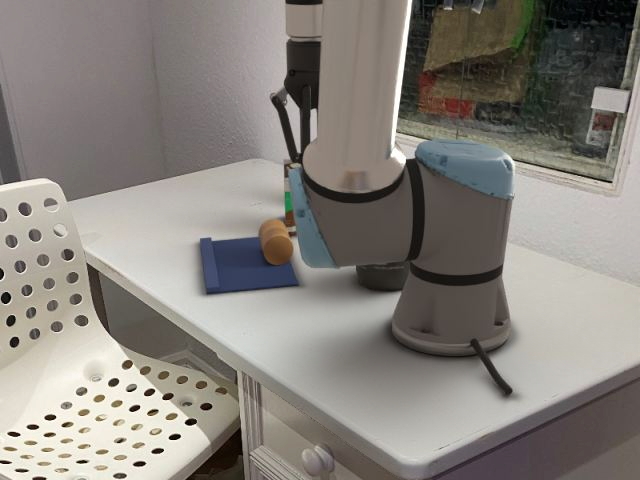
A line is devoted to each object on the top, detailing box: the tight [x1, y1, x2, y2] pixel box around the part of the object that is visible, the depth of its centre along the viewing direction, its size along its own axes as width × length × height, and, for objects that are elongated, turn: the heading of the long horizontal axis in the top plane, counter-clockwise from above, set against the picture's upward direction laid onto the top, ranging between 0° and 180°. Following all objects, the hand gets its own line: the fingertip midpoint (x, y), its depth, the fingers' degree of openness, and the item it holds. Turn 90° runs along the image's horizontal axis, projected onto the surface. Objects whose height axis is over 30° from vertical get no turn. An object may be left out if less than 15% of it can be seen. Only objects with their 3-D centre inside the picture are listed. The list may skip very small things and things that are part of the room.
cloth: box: [199, 236, 300, 295], centre depth 132 cm, size 22×14×1 cm, turn 6°
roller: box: [257, 218, 295, 265], centre depth 132 cm, size 8×5×5 cm, turn 6°
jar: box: [354, 261, 410, 292], centre depth 121 cm, size 10×10×8 cm
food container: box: [283, 158, 301, 237], centre depth 141 cm, size 12×6×10 cm, turn 179°
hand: (314, 206), depth 129 cm, fingers closed
